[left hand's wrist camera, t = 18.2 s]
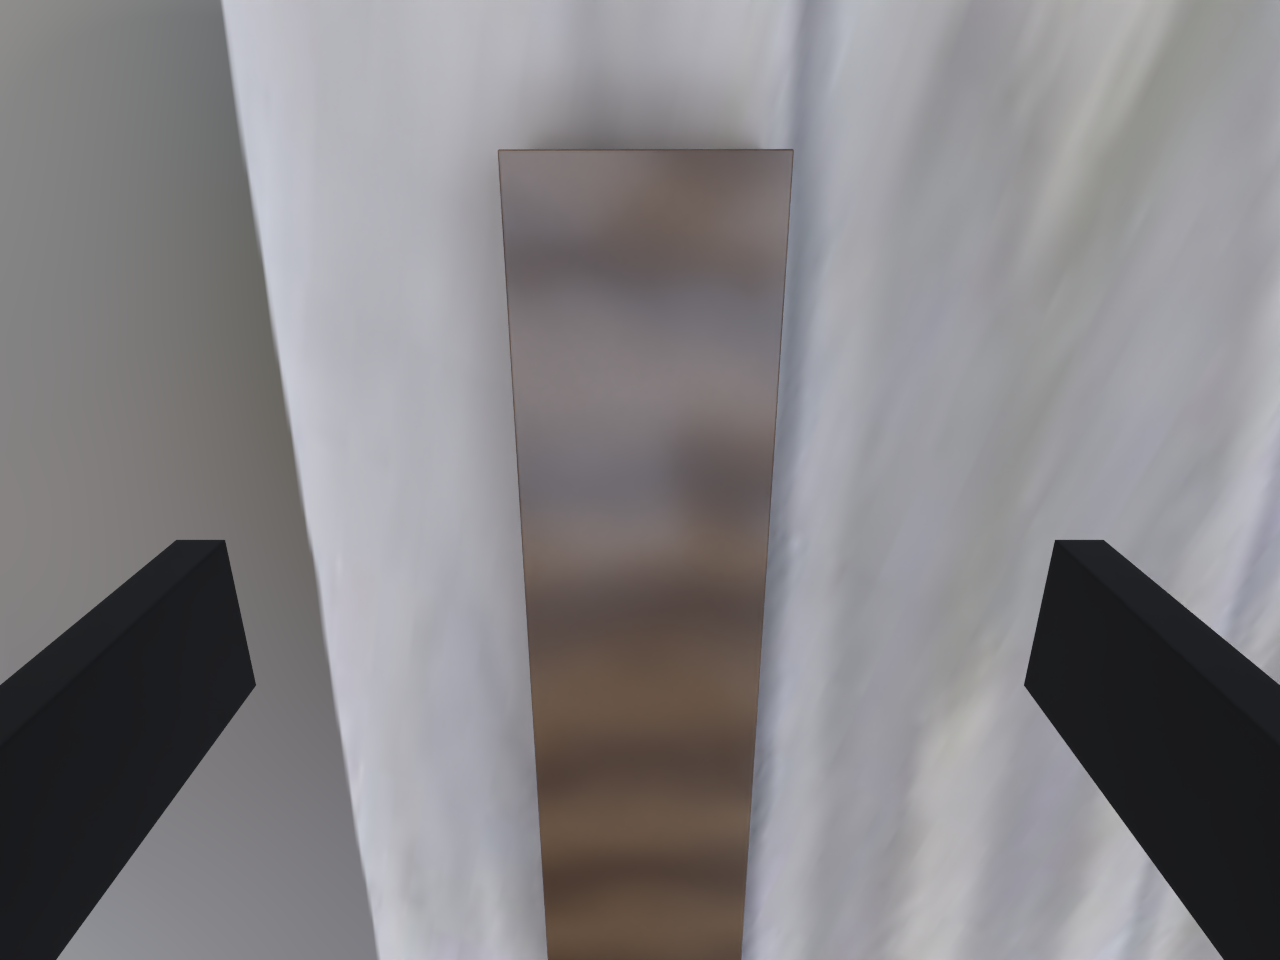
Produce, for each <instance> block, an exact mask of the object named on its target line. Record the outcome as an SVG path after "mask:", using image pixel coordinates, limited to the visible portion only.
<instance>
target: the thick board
mask: <svg viewBox="0 0 1280 960" xmlns="http://www.w3.org/2000/svg"><path fill="white" fill-rule="evenodd" d="M793 153H794V151H793V149H547V150H498V161H499V177H500V193H501V209H502V226H503V242H504V258H505V274H506V290H507V306H508V323H509V339H510V355H511V371H512V387H513V403H514V420H515V436H516V452H517V468H518V484H519V500H520V517H521V533H522V549H523V565H524V581H525V597H526V614H527V630H528V646H529V662H530V678H531V694H532V711H533V727H534V743H535V759H536V775H537V791H538V808H539V824H540V840H541V856H542V872H543V888H544V905H545V921H546V937H547V953H548V960H741V953H742V937H743V922H744V907H745V891H746V876H747V860H748V845H749V830H750V814H751V799H752V783H753V768H754V753H755V737H756V722H757V707H758V691H759V676H760V660H761V645H762V630H763V614H764V599H765V583H766V568H767V553H768V537H769V522H770V507H771V491H772V476H773V460H774V445H775V430H776V414H777V399H778V383H779V368H780V353H781V337H782V322H783V306H784V291H785V276H786V260H787V245H788V230H789V214H790V199H791V183H792V168H793Z"/></svg>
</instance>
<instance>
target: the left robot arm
mask: <svg viewBox="0 0 1280 960" xmlns="http://www.w3.org/2000/svg"><path fill="white" fill-rule="evenodd" d="M255 686H256V683H255V679H254V674H253V669H252V665H251V660H250V655H249V650H248V646H247V641H246V636H245V632H244V627H243V622H242V618H241V613H240V608H239V604H238V599H237V594H236V590H235V585H234V580H233V576H232V571H231V566H230V561H229V557H228V552H227V547H226V543H225V540H176V541H175V542H173V543H172V544H171V545H170V546H169V547H167V548H166V549H165V550H164V551H163V552H161V553H160V554H159V555H158V556H157V557H155V558H154V559H153V560H152V561H150V562H149V563H148V564H147V565H146V566H144V567H143V568H142V569H141V570H139V571H138V572H137V573H136V574H135V575H133V576H132V577H131V578H130V579H129V580H127V581H126V582H125V583H124V584H122V585H121V586H120V587H119V588H118V589H116V590H115V591H114V592H113V593H112V594H110V595H109V596H108V597H107V598H106V599H104V600H103V601H102V602H101V603H99V604H98V605H97V606H96V607H95V608H93V609H92V610H91V611H90V612H89V613H87V614H86V615H85V616H84V617H82V618H81V619H80V620H79V621H78V622H76V623H75V624H74V625H73V626H72V627H70V628H69V629H68V630H67V631H66V632H64V633H63V634H62V635H61V636H59V637H58V638H57V639H56V640H55V641H53V642H52V643H51V644H50V645H48V646H47V647H46V648H45V649H44V650H42V651H41V652H40V653H39V654H38V655H36V656H35V657H34V658H33V659H31V660H30V661H29V662H28V663H27V664H25V665H24V666H23V667H22V668H21V669H19V670H18V671H17V672H16V673H15V674H13V675H12V676H11V677H10V678H8V679H7V680H6V681H5V682H4V683H2V684H1V685H0V960H56V959H57V958H58V956H59V955H60V954H61V952H62V951H63V950H64V948H65V947H66V945H67V944H68V943H69V941H70V940H71V939H72V937H73V936H74V934H75V933H76V932H77V930H78V929H79V927H80V926H81V925H82V923H83V922H84V921H85V919H86V918H87V917H88V915H89V914H90V912H91V911H92V910H93V908H94V907H95V905H96V904H97V903H98V901H99V900H100V899H101V897H102V896H103V895H104V893H105V892H106V890H107V889H108V888H109V886H110V885H111V884H112V882H113V881H114V879H115V878H116V877H117V875H118V874H119V872H120V871H121V870H122V868H123V867H124V866H125V864H126V863H127V862H128V860H129V859H130V857H131V856H132V855H133V853H134V852H135V851H136V849H137V848H138V847H139V845H140V844H141V842H142V841H143V840H144V838H145V837H146V836H147V834H148V833H149V831H150V830H151V829H152V827H153V826H154V824H155V823H156V822H157V820H158V819H159V818H160V816H161V815H162V814H163V812H164V811H165V809H166V808H167V807H168V805H169V804H170V803H171V801H172V800H173V798H174V797H175V796H176V794H177V793H178V792H179V790H180V789H181V787H182V786H183V785H184V783H185V782H186V781H187V779H188V778H189V777H190V775H191V774H192V772H193V771H194V770H195V768H196V767H197V766H198V764H199V763H200V761H201V760H202V759H203V757H204V756H205V754H206V753H207V752H208V750H209V749H210V748H211V746H212V745H213V744H214V742H215V741H216V739H217V738H218V737H219V735H220V734H221V733H222V731H223V730H224V728H225V727H226V726H227V724H228V723H229V722H230V720H231V719H232V717H233V716H234V715H235V713H236V712H237V711H238V709H239V708H240V706H241V705H242V704H243V702H244V701H245V700H246V698H247V697H248V695H249V694H250V693H251V691H252V690H253V689H254V687H255ZM1024 686H1025V687H1026V689H1027V690H1028V691H1029V693H1030V694H1031V696H1032V697H1033V698H1034V700H1035V701H1036V702H1037V704H1038V705H1039V706H1040V708H1041V709H1042V711H1043V712H1044V713H1045V715H1046V716H1047V717H1048V719H1049V720H1050V722H1051V723H1052V724H1053V726H1054V727H1055V728H1056V730H1057V731H1058V733H1059V734H1060V735H1061V737H1062V738H1063V739H1064V741H1065V742H1066V744H1067V745H1068V746H1069V748H1070V749H1071V750H1072V752H1073V753H1074V755H1075V756H1076V757H1077V759H1078V760H1079V761H1080V763H1081V764H1082V766H1083V767H1084V768H1085V770H1086V771H1087V772H1088V774H1089V775H1090V777H1091V778H1092V779H1093V781H1094V782H1095V783H1096V785H1097V786H1098V787H1099V789H1100V790H1101V792H1102V793H1103V794H1104V796H1105V797H1106V798H1107V800H1108V801H1109V803H1110V804H1111V805H1112V807H1113V808H1114V809H1115V811H1116V812H1117V814H1118V815H1119V816H1120V818H1121V819H1122V820H1123V822H1124V823H1125V825H1126V826H1127V827H1128V829H1129V830H1130V831H1131V833H1132V834H1133V836H1134V837H1135V838H1136V840H1137V841H1138V842H1139V844H1140V845H1141V847H1142V848H1143V849H1144V851H1145V852H1146V853H1147V855H1148V856H1149V858H1150V859H1151V860H1152V862H1153V863H1154V864H1155V866H1156V867H1157V869H1158V870H1159V871H1160V873H1161V874H1162V875H1163V877H1164V878H1165V879H1166V881H1167V882H1168V884H1169V885H1170V886H1171V888H1172V889H1173V890H1174V892H1175V893H1176V895H1177V896H1178V897H1179V899H1180V900H1181V901H1182V903H1183V904H1184V906H1185V907H1186V908H1187V910H1188V911H1189V912H1190V914H1191V915H1192V917H1193V918H1194V919H1195V921H1196V922H1197V923H1198V925H1199V926H1200V928H1201V929H1202V930H1203V932H1204V933H1205V934H1206V936H1207V937H1208V939H1209V940H1210V941H1211V943H1212V944H1213V945H1214V947H1215V948H1216V950H1217V951H1218V952H1219V954H1220V955H1221V956H1222V958H1223V959H1224V960H1280V685H1279V684H1278V683H1276V682H1275V681H1274V680H1273V679H1272V678H1270V677H1269V676H1268V675H1267V674H1265V673H1264V672H1263V671H1262V670H1261V669H1259V668H1258V667H1257V666H1256V665H1255V664H1253V663H1252V662H1251V661H1250V660H1249V659H1247V658H1246V657H1245V656H1244V655H1242V654H1241V653H1240V652H1239V651H1238V650H1236V649H1235V648H1234V647H1233V646H1232V645H1230V644H1229V643H1228V642H1227V641H1225V640H1224V639H1223V638H1222V637H1221V636H1219V635H1218V634H1217V633H1216V632H1215V631H1213V630H1212V629H1211V628H1210V627H1208V626H1207V625H1206V624H1205V623H1204V622H1202V621H1201V620H1200V619H1199V618H1198V617H1196V616H1195V615H1194V614H1193V613H1191V612H1190V611H1189V610H1188V609H1187V608H1185V607H1184V606H1183V605H1182V604H1181V603H1179V602H1178V601H1177V600H1176V599H1174V598H1173V597H1172V596H1171V595H1170V594H1168V593H1167V592H1166V591H1165V590H1164V589H1162V588H1161V587H1160V586H1159V585H1158V584H1156V583H1155V582H1154V581H1153V580H1151V579H1150V578H1149V577H1148V576H1147V575H1145V574H1144V573H1143V572H1142V571H1141V570H1139V569H1138V568H1137V567H1136V566H1134V565H1133V564H1132V563H1131V562H1130V561H1128V560H1127V559H1126V558H1125V557H1124V556H1122V555H1121V554H1120V553H1119V552H1117V551H1116V550H1115V549H1114V548H1113V547H1111V546H1110V545H1109V544H1108V543H1107V542H1105V541H1104V540H1055V543H1054V547H1053V552H1052V557H1051V561H1050V566H1049V571H1048V576H1047V580H1046V585H1045V590H1044V594H1043V599H1042V604H1041V608H1040V613H1039V618H1038V622H1037V627H1036V632H1035V636H1034V641H1033V646H1032V650H1031V655H1030V660H1029V664H1028V669H1027V674H1026V678H1025V683H1024Z"/></svg>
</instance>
